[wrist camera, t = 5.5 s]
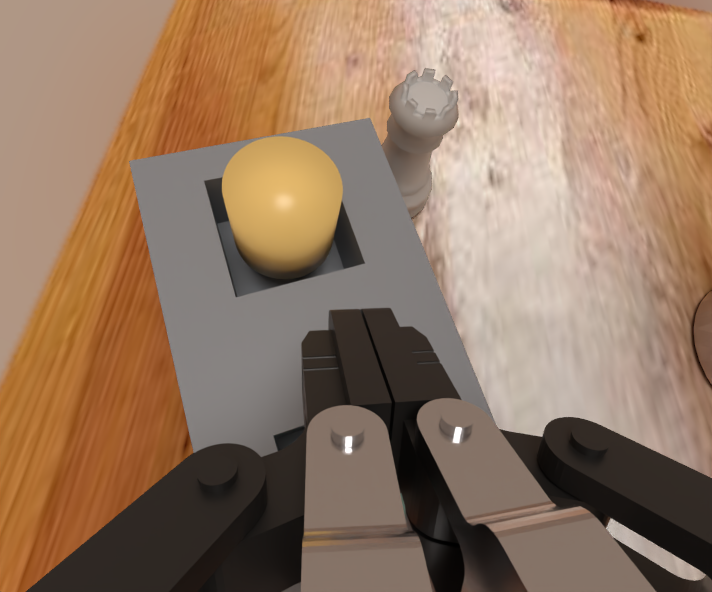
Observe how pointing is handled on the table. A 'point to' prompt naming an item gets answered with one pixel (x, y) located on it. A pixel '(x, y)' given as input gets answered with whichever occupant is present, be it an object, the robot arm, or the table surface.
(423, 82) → the rook chess piece
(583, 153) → the table surface
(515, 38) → the table surface
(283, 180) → the amber button
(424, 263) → the console
